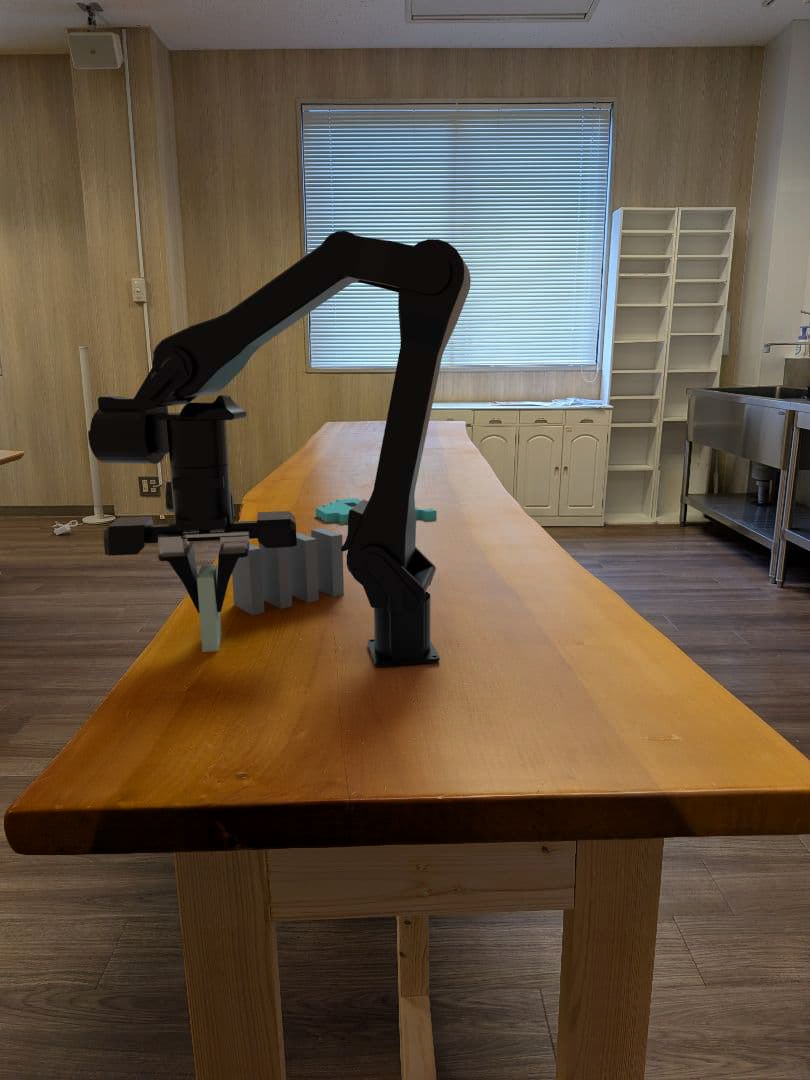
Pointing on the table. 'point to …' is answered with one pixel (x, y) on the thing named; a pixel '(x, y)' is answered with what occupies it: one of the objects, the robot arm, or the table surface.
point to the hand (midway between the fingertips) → (210, 611)
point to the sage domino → (209, 608)
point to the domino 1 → (249, 582)
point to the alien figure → (341, 507)
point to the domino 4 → (329, 561)
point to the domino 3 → (304, 569)
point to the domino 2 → (276, 576)
